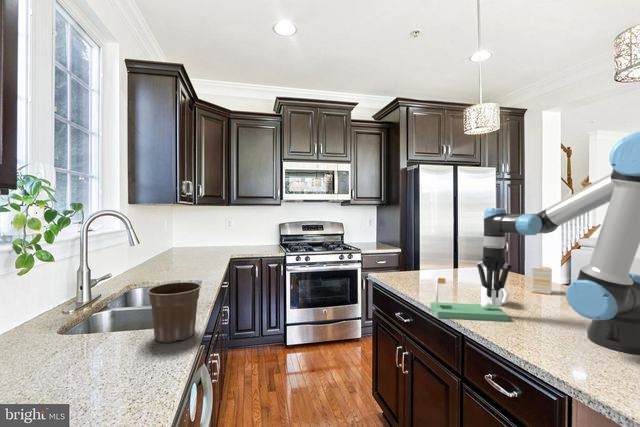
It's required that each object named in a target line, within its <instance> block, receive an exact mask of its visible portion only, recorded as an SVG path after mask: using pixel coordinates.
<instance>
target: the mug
mask: <svg viewBox="0 0 640 427" xmlns="http://www.w3.org/2000/svg"><path fill="white" fill-rule="evenodd" d="M493 281H494V279H492V288H493ZM486 282H487V278H486ZM493 289H494V288H493ZM480 291H481V292H480V295H481V296H480V297H481V298H480V303H481V302H482V301H484V300H487V301H489V297H488V296H487V288H485V287H483V286H482V283H481V289H480ZM510 294H511V293H510V292H509V291H508V289H507V288H506V287H505V286H504V288H503V289H502V288H501V289H500V290H499V292H498V298H496V306H497V307H501V306H502V305H504V304H506V303H508V301H509V297H510Z"/></svg>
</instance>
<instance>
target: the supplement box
mask: <svg viewBox="0 0 640 427" xmlns="http://www.w3.org/2000/svg"><path fill="white" fill-rule="evenodd" d="M530 271H531V272H530V275H531V276H530V279H531V280H530V281H531V282H530V290H531V293H533V294H541V295H549V296H550V295H552V275H553V274H552V268H551V267H549V266H537V265H531V270H530Z"/></svg>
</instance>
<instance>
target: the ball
mask: <svg viewBox="0 0 640 427" xmlns="http://www.w3.org/2000/svg"><path fill="white" fill-rule="evenodd" d="M480 304H481V306H482V308H484V309H489V308H490V307H491V304H490V302H489V301H487V300H484V301H482V302H481V301H480Z"/></svg>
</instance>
